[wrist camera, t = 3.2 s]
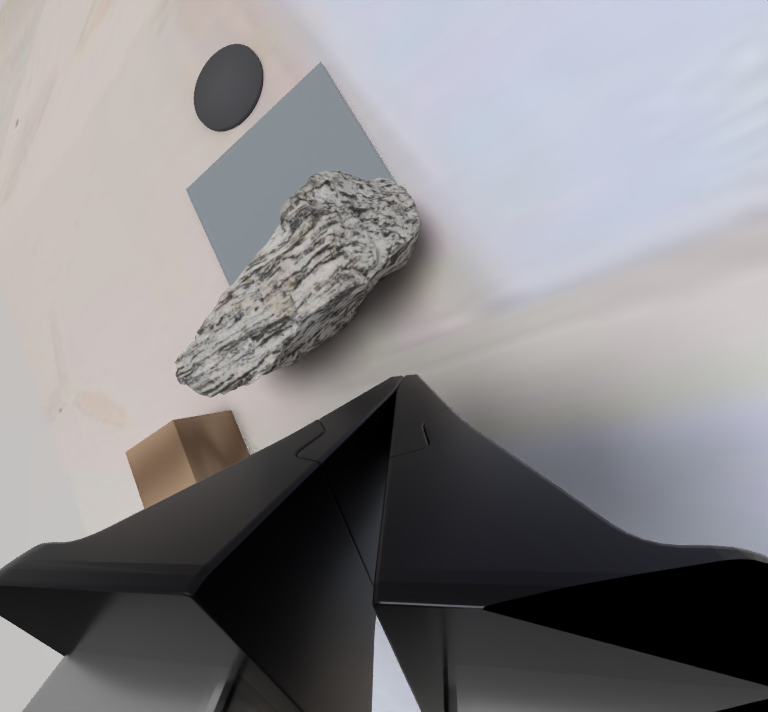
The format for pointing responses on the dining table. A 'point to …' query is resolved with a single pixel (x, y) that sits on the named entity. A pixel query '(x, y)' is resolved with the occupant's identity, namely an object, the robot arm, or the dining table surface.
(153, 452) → the walnut block
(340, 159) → the slate mat
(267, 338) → the rock
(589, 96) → the dining table surface
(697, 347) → the dining table surface
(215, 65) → the hole disc
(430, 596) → the robot arm
